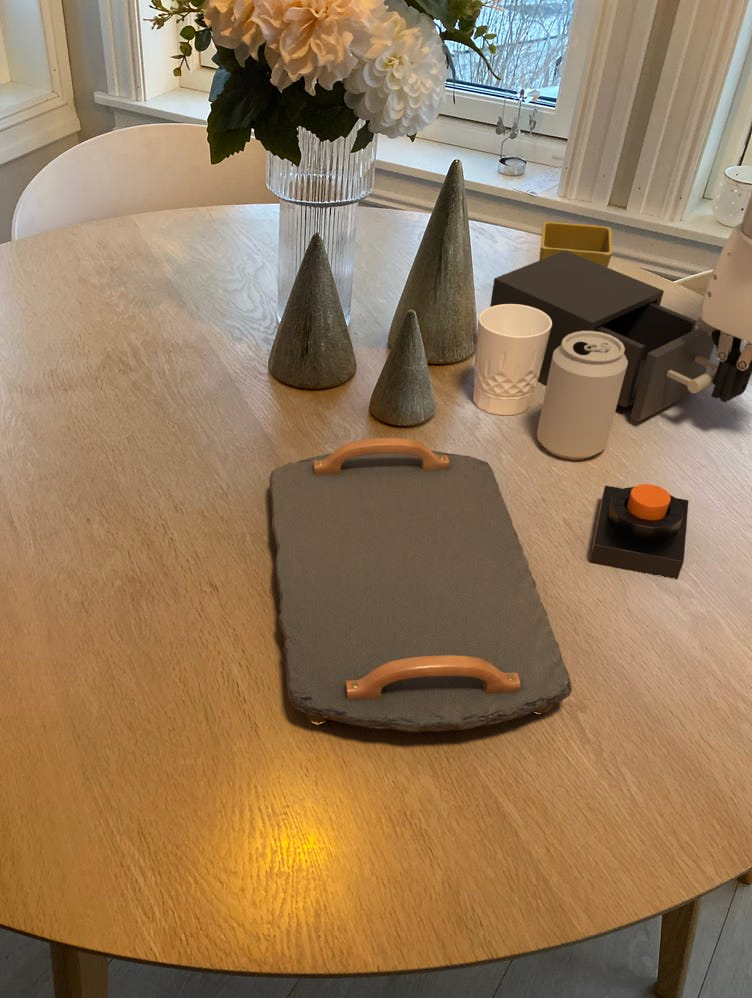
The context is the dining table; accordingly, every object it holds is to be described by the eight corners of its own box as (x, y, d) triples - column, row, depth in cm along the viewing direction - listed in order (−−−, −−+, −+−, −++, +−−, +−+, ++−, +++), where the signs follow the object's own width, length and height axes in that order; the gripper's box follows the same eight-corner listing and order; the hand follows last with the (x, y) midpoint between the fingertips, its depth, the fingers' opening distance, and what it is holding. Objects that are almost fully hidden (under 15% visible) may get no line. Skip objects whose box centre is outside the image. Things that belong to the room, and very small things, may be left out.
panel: (600, 503, 101) (609, 470, 98) (682, 518, 99) (693, 484, 96) (589, 562, 94) (598, 529, 91) (677, 580, 92) (689, 546, 89)
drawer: (732, 403, 112) (755, 339, 107) (670, 437, 108) (691, 372, 102) (606, 345, 123) (621, 283, 117) (545, 374, 118) (557, 311, 112)
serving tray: (581, 743, 78) (598, 690, 74) (288, 758, 77) (288, 704, 73) (481, 465, 106) (489, 414, 101) (264, 474, 105) (263, 423, 101)
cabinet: (643, 366, 120) (664, 290, 114) (575, 400, 115) (593, 322, 108) (550, 323, 129) (564, 250, 122) (483, 353, 123) (494, 278, 117)
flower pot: (597, 292, 135) (612, 225, 129) (597, 321, 129) (613, 253, 123) (531, 286, 137) (543, 220, 130) (528, 315, 131) (540, 247, 124)
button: (628, 496, 96) (632, 481, 94) (667, 503, 95) (672, 487, 93) (624, 517, 93) (629, 502, 92) (664, 524, 92) (669, 509, 91)
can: (535, 423, 112) (555, 323, 103) (604, 429, 110) (630, 329, 102) (534, 460, 106) (555, 357, 98) (606, 467, 105) (634, 364, 97)
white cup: (536, 421, 112) (553, 339, 105) (466, 416, 113) (477, 334, 106) (535, 386, 117) (551, 306, 110) (468, 381, 118) (479, 301, 112)
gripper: (882, 237, 91) (809, 412, 104) (738, 191, 100) (686, 358, 112) (839, 258, 88) (769, 437, 100) (693, 209, 96) (646, 379, 109)
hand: (725, 395), depth 106 cm, fingers closed
